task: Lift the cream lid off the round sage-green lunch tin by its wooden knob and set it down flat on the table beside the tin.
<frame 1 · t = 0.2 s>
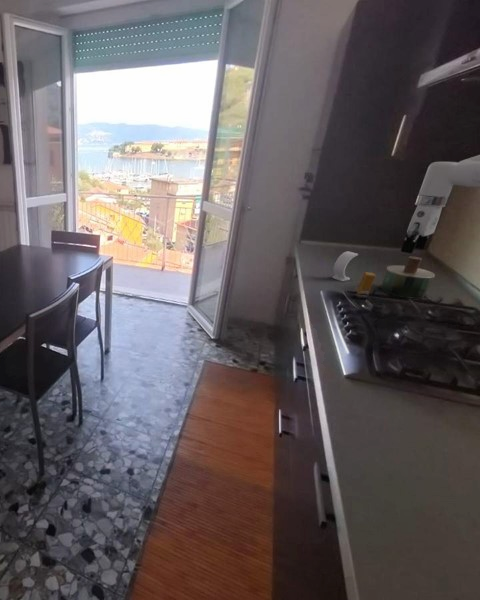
hand: (412, 250, 126), 21 cm above the worktop, tool pointing down, fingers open, 9 cm apart
supplement box: (361, 297, 141), on the worktop
lunch tin: (401, 292, 146), on the worktop
tin lid: (409, 272, 142), point 8 cm above the worktop, touching lunch tin
headphone stand: (339, 279, 160), on the worktop
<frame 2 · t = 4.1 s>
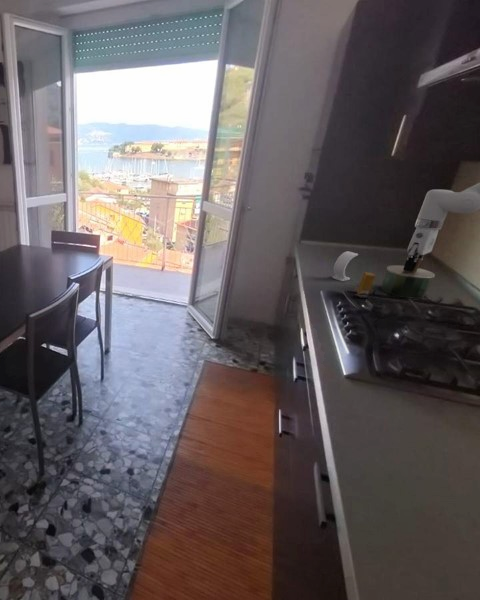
hand: (410, 269, 142), 10 cm above the worktop, tool pointing down, fingers closed on tin lid, 4 cm apart
tin lid: (409, 272, 142), point 9 cm above the worktop, touching gripper, lunch tin
everything else where it was.
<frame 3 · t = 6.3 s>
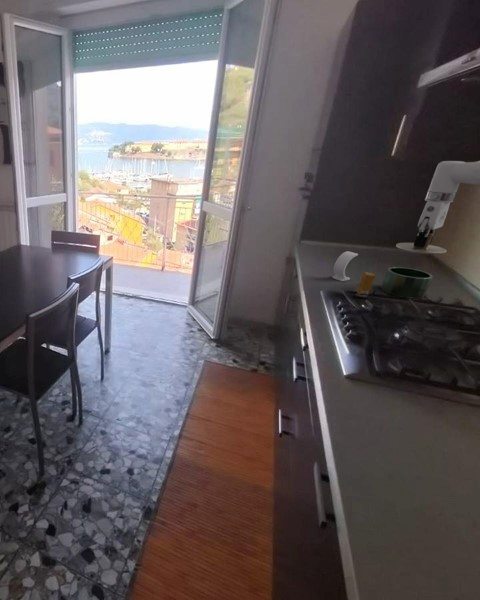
hand: (421, 245, 138), 20 cm above the worktop, tool pointing down, fingers closed on tin lid, 4 cm apart
tin lid: (420, 248, 138), point 18 cm above the worktop, touching gripper
everything else where it was.
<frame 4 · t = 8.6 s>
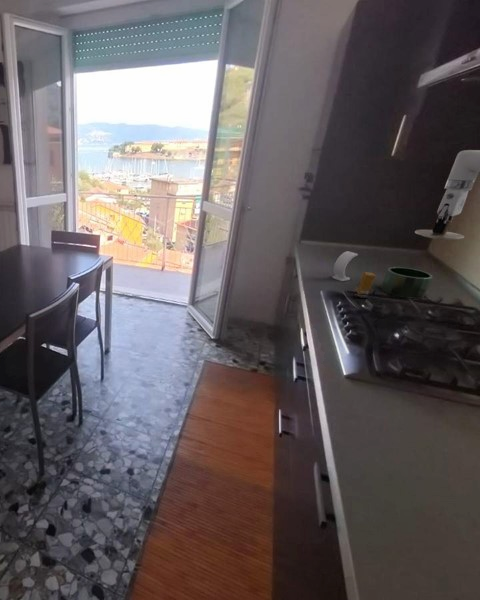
hand: (439, 231, 144), 23 cm above the worktop, tool pointing down, fingers closed on tin lid, 4 cm apart
tin lid: (438, 235, 144), point 22 cm above the worktop, touching gripper
everything else where it was.
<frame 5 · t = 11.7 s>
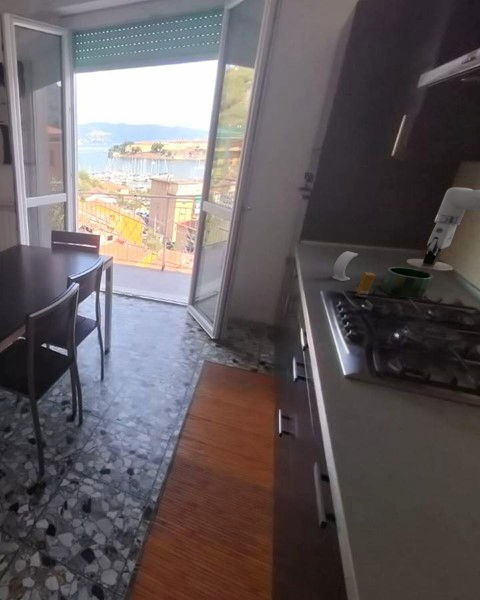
hand: (430, 262, 151), 9 cm above the worktop, tool pointing down, fingers closed on tin lid, 4 cm apart
tin lid: (428, 265, 152), point 8 cm above the worktop, touching gripper
everything else where it was.
when the fingers open (2 cm above the worktop, at t = 13.6 s): tin lid stays where it is, point 1 cm above the worktop.
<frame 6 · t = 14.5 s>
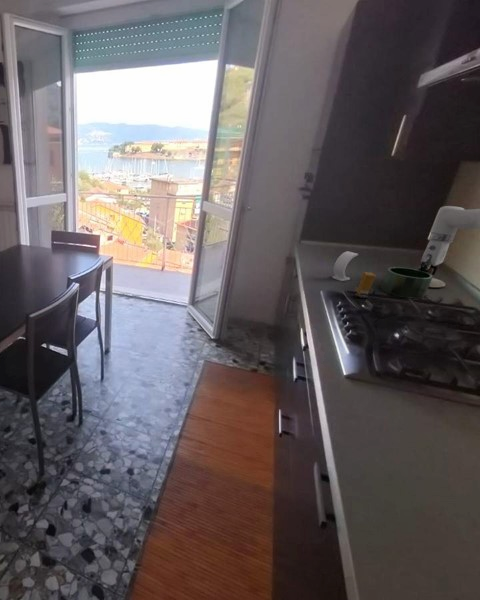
hand: (424, 276, 154), 3 cm above the worktop, tool pointing down, fingers open, 9 cm apart
tin lid: (422, 281, 155), point 1 cm above the worktop
everything else where it was.
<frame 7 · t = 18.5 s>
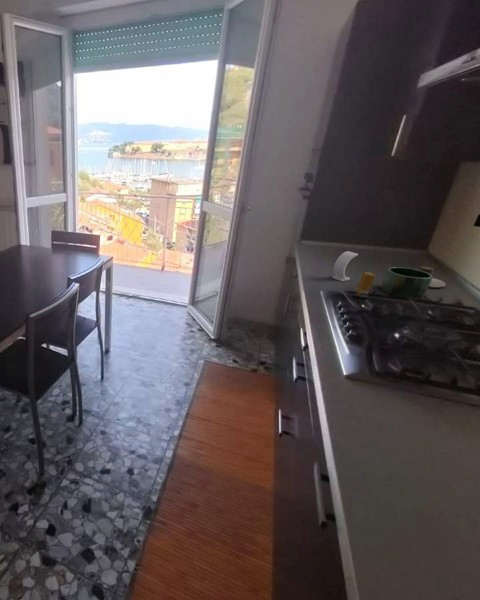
nothing on the worktop moved.
at the end: tin lid point 0.6 cm above the worktop; tin lid inside the target area (0.2 cm from its centre), point 0.6 cm above the worktop; tin lid tilted 0° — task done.
